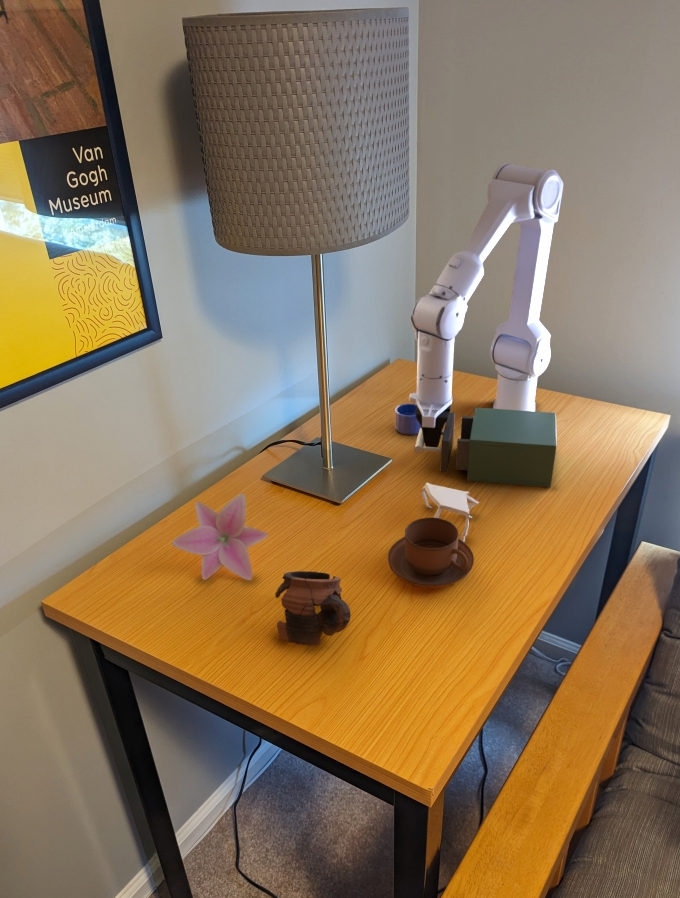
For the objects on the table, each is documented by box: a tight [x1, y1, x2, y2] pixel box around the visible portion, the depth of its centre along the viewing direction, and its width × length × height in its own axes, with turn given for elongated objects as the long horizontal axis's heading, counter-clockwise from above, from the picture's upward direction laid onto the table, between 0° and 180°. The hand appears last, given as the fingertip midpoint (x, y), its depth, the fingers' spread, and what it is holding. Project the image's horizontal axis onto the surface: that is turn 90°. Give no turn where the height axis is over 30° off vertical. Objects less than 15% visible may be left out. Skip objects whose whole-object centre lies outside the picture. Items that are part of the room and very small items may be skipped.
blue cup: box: [394, 403, 421, 436], centre depth 138 cm, size 5×5×4 cm
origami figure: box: [419, 482, 480, 543], centre depth 113 cm, size 12×8×5 cm
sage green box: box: [466, 407, 558, 488], centre depth 125 cm, size 14×12×8 cm
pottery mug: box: [274, 570, 352, 646], centre depth 95 cm, size 12×10×8 cm
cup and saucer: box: [387, 517, 475, 588], centre depth 103 cm, size 12×12×6 cm
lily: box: [171, 493, 269, 581], centre depth 105 cm, size 12×12×10 cm
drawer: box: [413, 411, 474, 473], centre depth 126 cm, size 17×10×6 cm, turn 79°
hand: (431, 445), depth 127 cm, fingers closed, pressing on drawer
